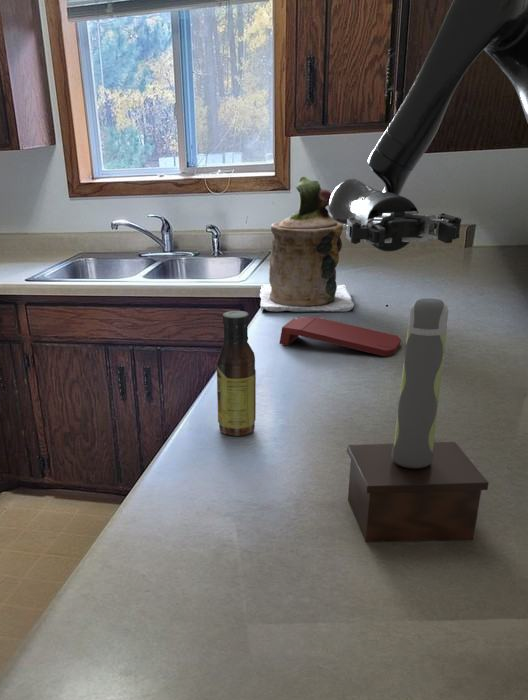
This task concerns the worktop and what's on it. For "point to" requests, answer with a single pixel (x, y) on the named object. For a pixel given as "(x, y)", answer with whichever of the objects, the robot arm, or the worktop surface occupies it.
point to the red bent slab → (340, 335)
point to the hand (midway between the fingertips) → (416, 236)
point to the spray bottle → (420, 384)
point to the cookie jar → (306, 258)
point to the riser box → (414, 495)
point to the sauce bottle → (236, 377)
